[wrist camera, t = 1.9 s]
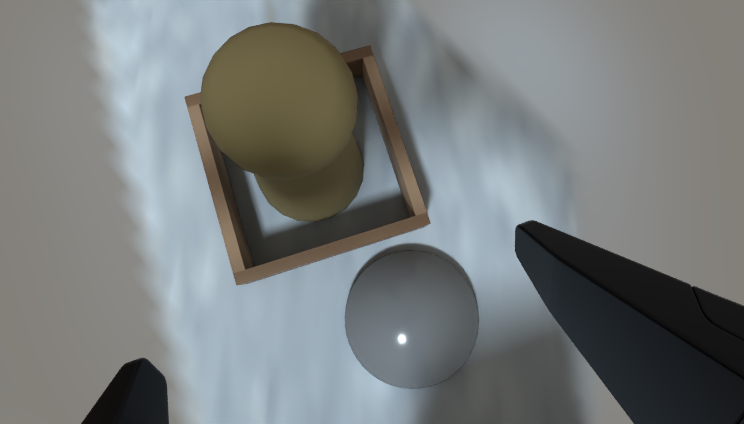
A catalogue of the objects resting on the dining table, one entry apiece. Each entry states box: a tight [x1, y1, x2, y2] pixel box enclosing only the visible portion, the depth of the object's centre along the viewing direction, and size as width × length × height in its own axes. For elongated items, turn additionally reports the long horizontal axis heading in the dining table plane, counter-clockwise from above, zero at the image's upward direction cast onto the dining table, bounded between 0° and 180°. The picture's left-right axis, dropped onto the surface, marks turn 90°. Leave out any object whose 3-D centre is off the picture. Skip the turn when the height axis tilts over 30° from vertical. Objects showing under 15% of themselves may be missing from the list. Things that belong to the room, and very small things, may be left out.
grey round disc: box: [345, 251, 479, 389], centre depth 22 cm, size 7×7×1 cm
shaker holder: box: [185, 45, 430, 285], centre depth 22 cm, size 10×10×2 cm
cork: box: [200, 22, 364, 222], centre depth 18 cm, size 6×6×11 cm
